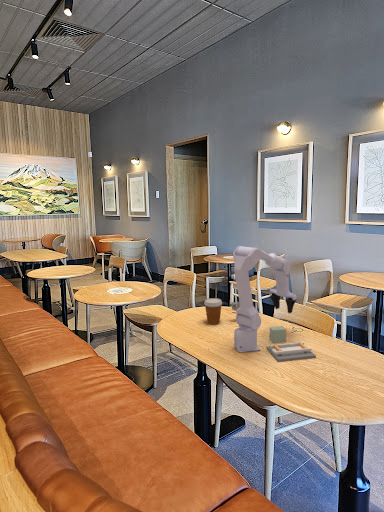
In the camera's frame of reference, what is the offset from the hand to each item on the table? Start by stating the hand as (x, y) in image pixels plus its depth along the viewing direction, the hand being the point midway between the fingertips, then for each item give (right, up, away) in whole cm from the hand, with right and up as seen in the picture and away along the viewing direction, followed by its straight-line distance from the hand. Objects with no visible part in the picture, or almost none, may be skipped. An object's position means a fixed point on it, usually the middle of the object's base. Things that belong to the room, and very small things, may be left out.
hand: (283, 310), depth 159 cm
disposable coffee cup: (-32, -9, +17) cm, 37 cm away
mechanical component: (-18, -9, +18) cm, 27 cm away
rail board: (-3, -14, -21) cm, 26 cm away
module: (-5, -12, -8) cm, 16 cm away
